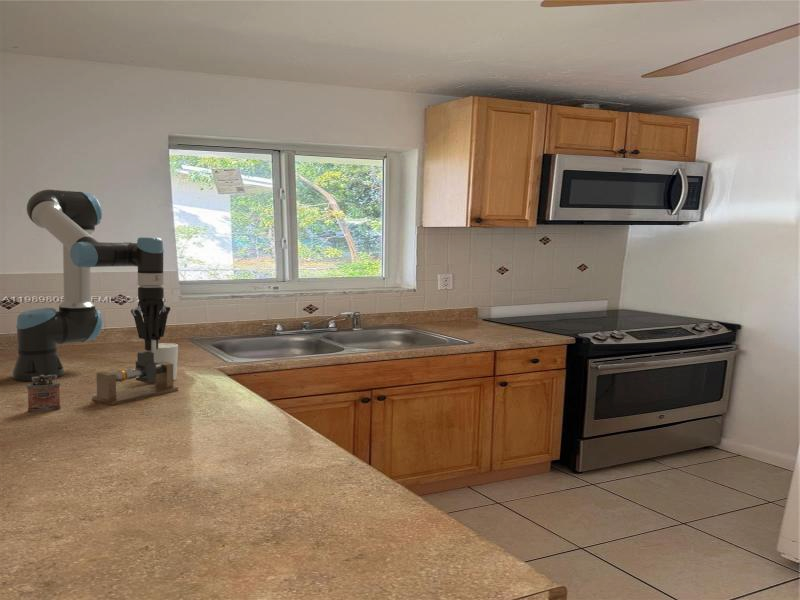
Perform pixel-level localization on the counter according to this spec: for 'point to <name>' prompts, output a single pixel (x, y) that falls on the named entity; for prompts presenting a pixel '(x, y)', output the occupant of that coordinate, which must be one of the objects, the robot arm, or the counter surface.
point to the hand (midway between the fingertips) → (151, 359)
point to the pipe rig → (111, 397)
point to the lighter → (44, 394)
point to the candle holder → (168, 355)
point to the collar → (146, 361)
